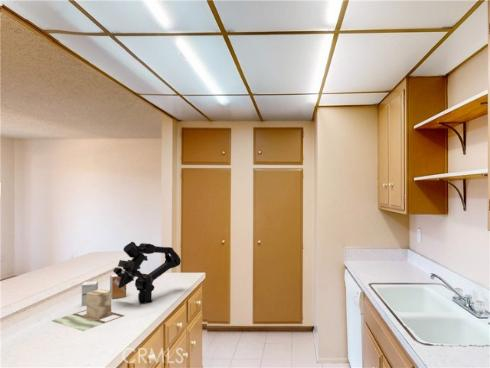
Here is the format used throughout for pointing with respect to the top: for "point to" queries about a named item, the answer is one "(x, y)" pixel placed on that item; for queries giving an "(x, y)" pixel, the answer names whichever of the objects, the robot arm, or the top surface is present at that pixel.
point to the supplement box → (88, 290)
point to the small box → (116, 287)
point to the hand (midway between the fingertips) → (119, 287)
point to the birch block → (98, 303)
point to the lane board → (83, 321)
